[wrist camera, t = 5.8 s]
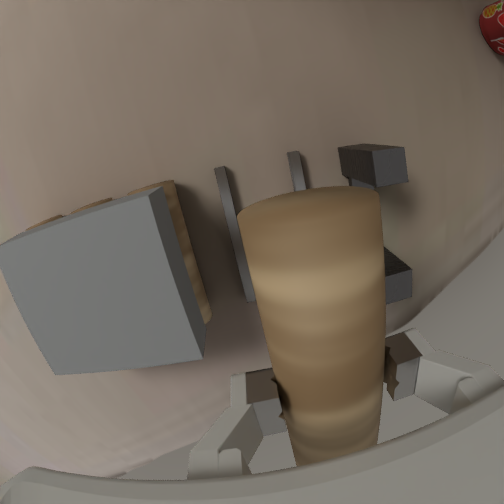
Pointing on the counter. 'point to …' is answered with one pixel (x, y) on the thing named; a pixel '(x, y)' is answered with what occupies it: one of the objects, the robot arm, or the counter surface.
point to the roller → (322, 312)
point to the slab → (106, 288)
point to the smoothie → (493, 26)
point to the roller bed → (231, 221)
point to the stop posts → (369, 175)
